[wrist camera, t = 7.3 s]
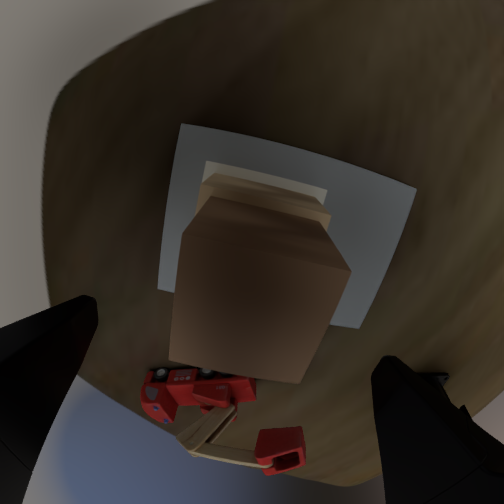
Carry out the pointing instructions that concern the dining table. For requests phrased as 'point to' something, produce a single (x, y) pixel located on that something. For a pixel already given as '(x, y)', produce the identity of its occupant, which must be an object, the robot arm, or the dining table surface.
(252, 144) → the plate
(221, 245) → the walnut cube
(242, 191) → the oak base block
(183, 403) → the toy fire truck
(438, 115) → the dining table surface
